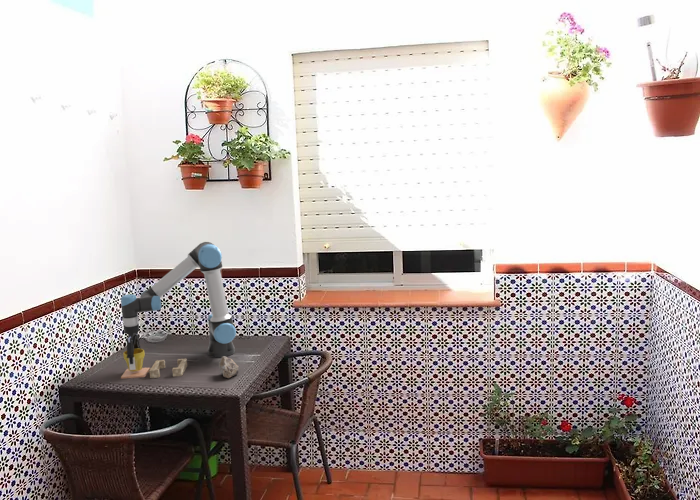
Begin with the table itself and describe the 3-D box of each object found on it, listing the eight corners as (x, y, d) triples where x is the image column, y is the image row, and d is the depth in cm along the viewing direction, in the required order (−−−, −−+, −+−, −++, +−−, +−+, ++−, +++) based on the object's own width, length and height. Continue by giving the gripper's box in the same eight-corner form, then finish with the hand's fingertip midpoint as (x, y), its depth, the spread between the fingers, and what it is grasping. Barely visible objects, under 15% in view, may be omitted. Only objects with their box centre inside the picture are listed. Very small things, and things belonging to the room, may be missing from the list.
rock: (226, 385, 328) (238, 370, 327) (209, 370, 329) (221, 355, 328) (232, 381, 337) (244, 366, 336) (215, 366, 338) (226, 351, 337)
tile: (150, 369, 349) (150, 367, 349) (144, 377, 337) (144, 375, 337) (127, 370, 348) (127, 368, 348) (121, 378, 336) (120, 376, 336)
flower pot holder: (187, 365, 352) (186, 358, 351) (181, 376, 336) (181, 368, 336) (156, 367, 351) (156, 360, 350) (150, 378, 335) (149, 370, 335)
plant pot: (139, 373, 336) (137, 354, 334) (121, 372, 338) (119, 354, 337) (149, 366, 346) (147, 348, 344) (131, 365, 348) (129, 348, 347)
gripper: (129, 319, 349) (133, 359, 353) (117, 331, 327) (122, 374, 330) (143, 318, 350) (147, 358, 353) (132, 330, 327) (137, 373, 331)
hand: (135, 366), depth 342 cm, fingers closed on plant pot, 10 cm apart
